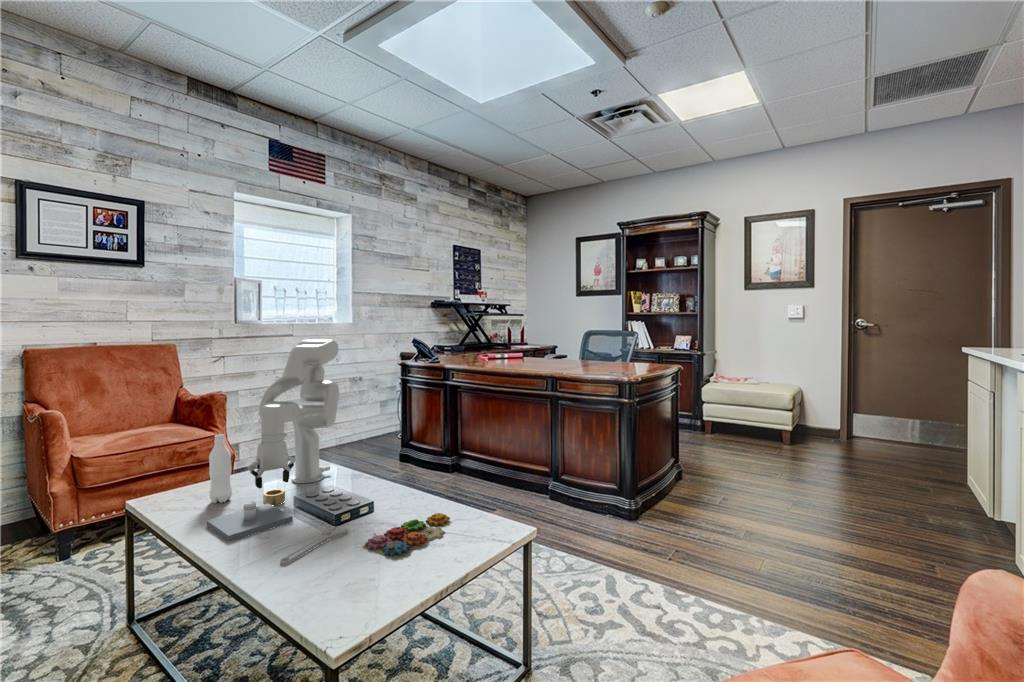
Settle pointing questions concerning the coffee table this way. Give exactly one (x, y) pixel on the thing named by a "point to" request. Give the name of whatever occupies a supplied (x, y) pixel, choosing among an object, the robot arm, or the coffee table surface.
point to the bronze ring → (274, 497)
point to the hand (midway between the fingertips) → (272, 484)
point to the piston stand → (248, 521)
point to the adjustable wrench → (314, 544)
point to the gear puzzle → (407, 537)
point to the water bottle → (220, 471)
